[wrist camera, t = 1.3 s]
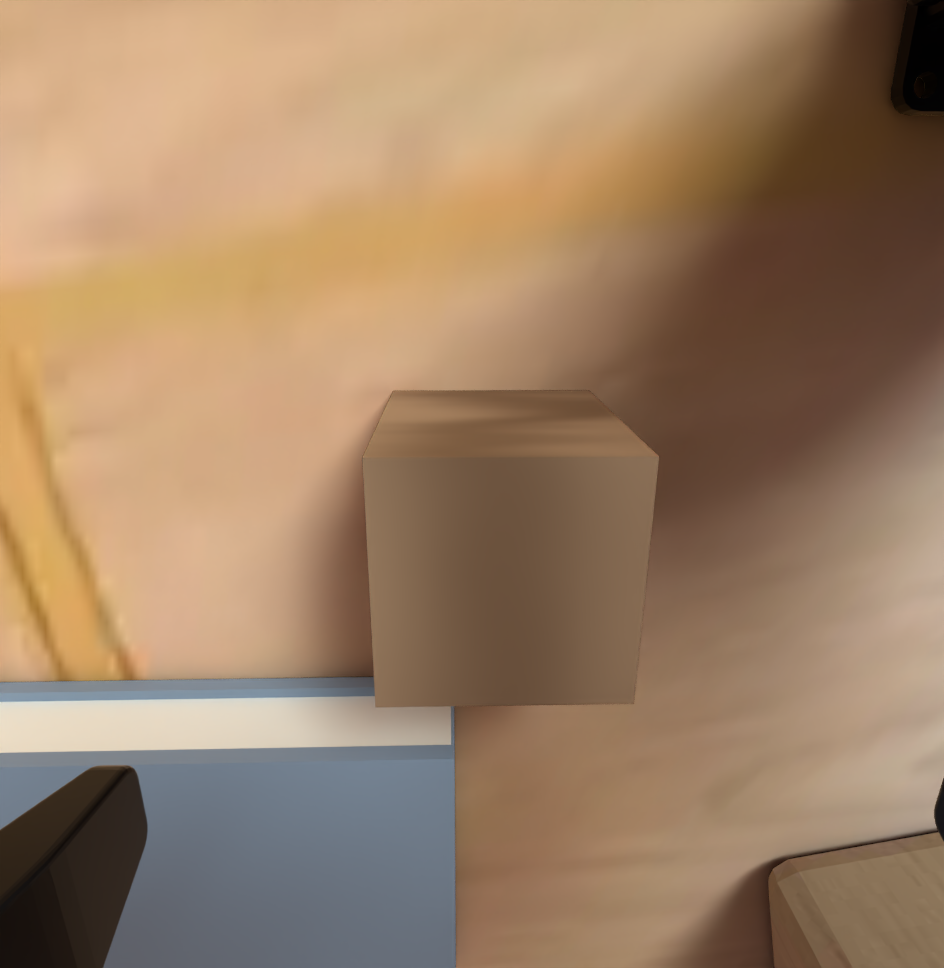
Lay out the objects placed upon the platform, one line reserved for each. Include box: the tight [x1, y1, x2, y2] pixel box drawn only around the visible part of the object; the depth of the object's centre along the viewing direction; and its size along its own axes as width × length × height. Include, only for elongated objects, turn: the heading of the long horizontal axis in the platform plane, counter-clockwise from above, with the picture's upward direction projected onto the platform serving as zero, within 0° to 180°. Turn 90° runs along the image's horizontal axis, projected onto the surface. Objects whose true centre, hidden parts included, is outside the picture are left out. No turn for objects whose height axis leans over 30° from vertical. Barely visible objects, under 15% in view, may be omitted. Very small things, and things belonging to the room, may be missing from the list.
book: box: [0, 677, 456, 968], centre depth 19 cm, size 16×12×3 cm
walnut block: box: [362, 390, 659, 707], centre depth 15 cm, size 5×5×6 cm
